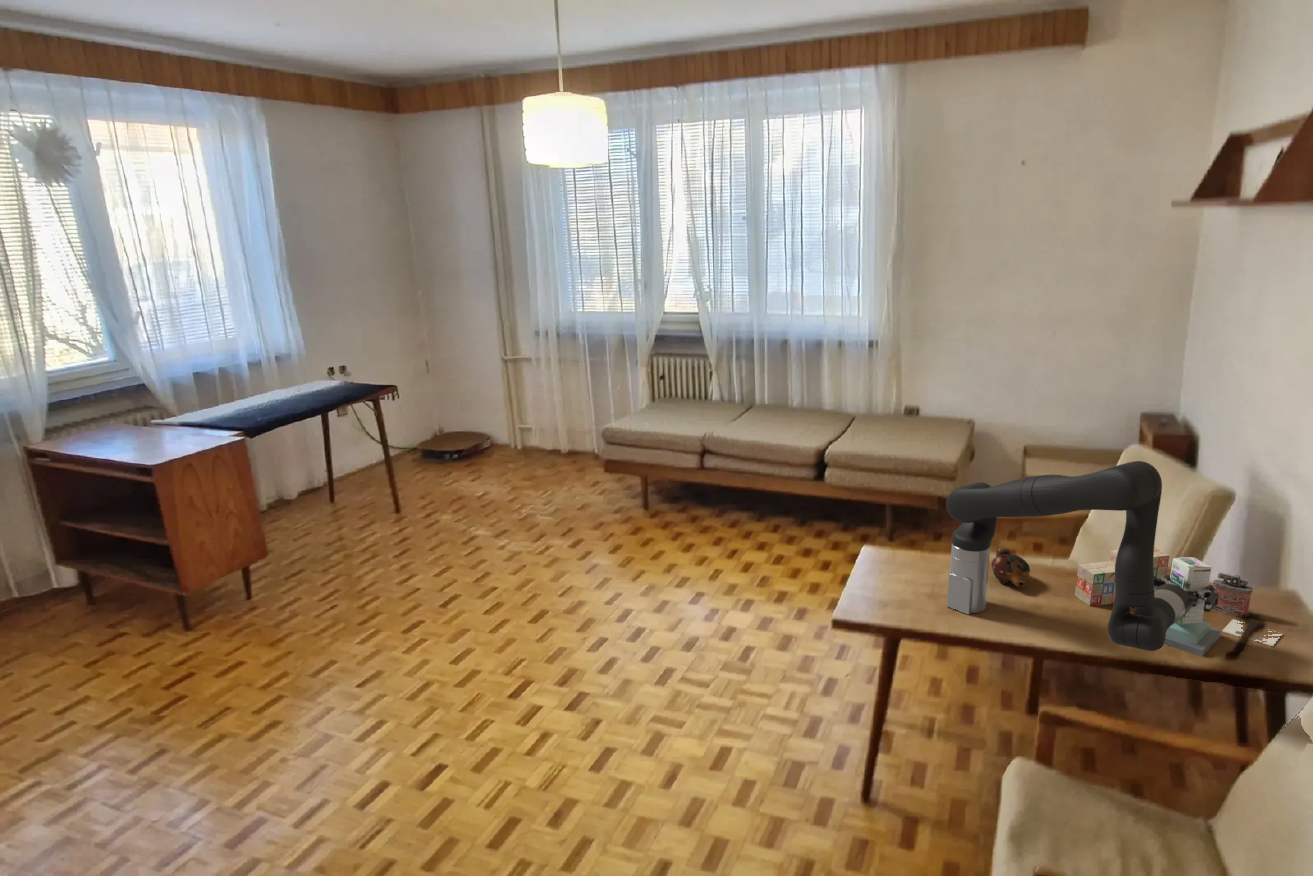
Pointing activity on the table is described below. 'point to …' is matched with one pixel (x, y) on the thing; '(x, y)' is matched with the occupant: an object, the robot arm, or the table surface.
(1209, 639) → the tower base
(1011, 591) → the table surface
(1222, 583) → the lighter
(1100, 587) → the stack of blocks
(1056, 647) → the table surface
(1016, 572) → the decorative turtle
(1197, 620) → the syrup box
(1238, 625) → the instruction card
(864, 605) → the table surface
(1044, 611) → the table surface
